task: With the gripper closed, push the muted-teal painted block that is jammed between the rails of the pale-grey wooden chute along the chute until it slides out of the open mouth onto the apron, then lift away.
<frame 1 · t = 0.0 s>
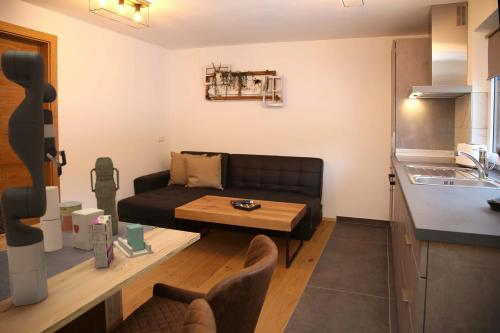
hand: (47, 176, 146), 29 cm above the table, fingers open, 8 cm apart
chute: (132, 247, 150), on the table
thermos: (108, 234, 168), on the table
canned food: (70, 228, 176), on the table
block: (135, 237, 146), point 6 cm above the table, slide at -4.0 cm
candy bar box: (104, 262, 135), on the table
cylindrical container: (52, 248, 149), on the table
supplement box: (89, 246, 152), on the table
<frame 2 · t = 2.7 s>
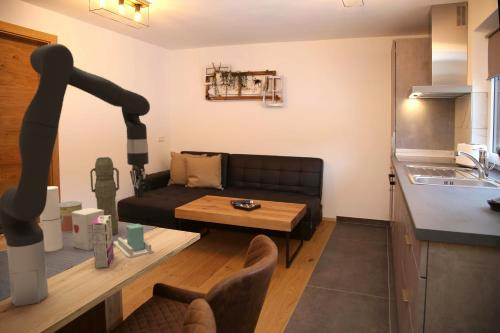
hand: (139, 197, 138), 23 cm above the table, fingers closed
nothing on the table moved.
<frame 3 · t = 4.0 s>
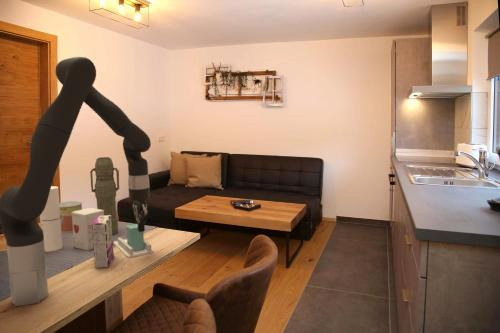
hand: (141, 231, 140), 10 cm above the table, fingers closed
nothing on the table moved.
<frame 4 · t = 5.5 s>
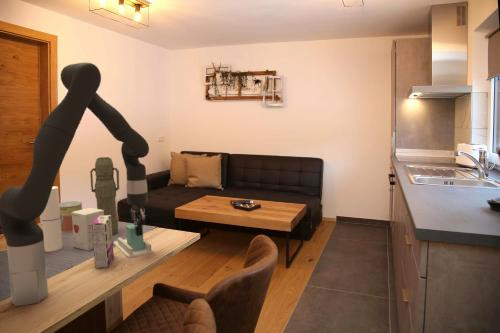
hand: (139, 235, 142), 8 cm above the table, fingers closed
block: (135, 237, 146), point 6 cm above the table, slide at -3.6 cm, touching gripper
everything else where it was.
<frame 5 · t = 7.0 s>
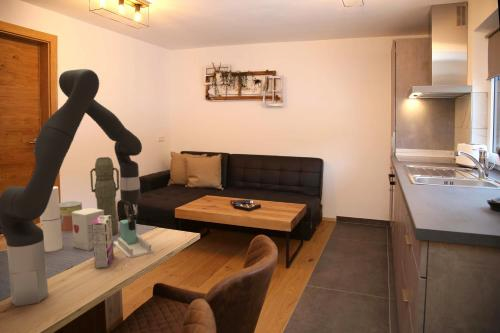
hand: (132, 229, 149), 8 cm above the table, fingers closed
block: (128, 231, 153), point 6 cm above the table, slide at 4.8 cm, touching gripper
everything else where it was.
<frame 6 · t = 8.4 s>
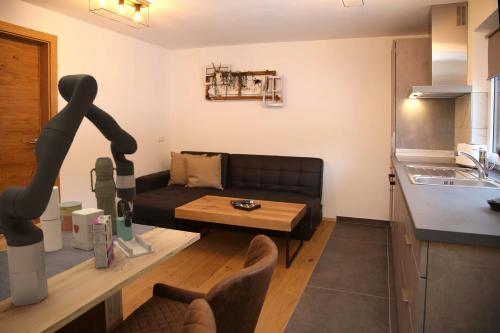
hand: (127, 226, 153), 8 cm above the table, fingers closed
block: (124, 228, 157), point 6 cm above the table, slide at 10.2 cm, touching gripper
everything else where it was.
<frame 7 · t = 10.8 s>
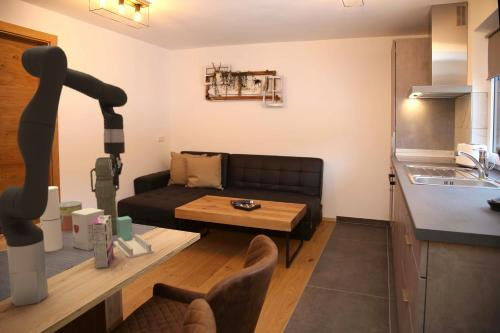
hand: (115, 185, 143), 26 cm above the table, fingers closed
block: (124, 228, 157), point 6 cm above the table, slide at 10.4 cm
everything else where it was.
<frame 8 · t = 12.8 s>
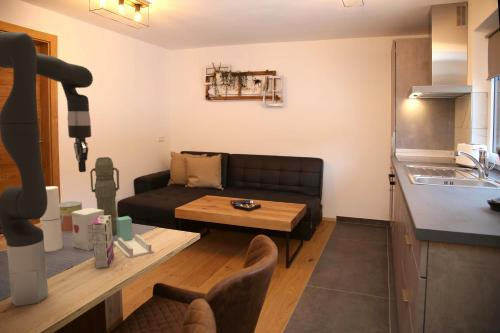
hand: (82, 171, 135), 33 cm above the table, fingers closed
nothing on the table moved.
at the end: block slide at 10.4 cm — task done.
